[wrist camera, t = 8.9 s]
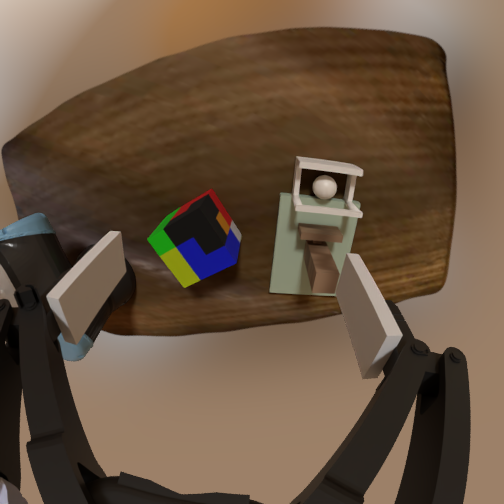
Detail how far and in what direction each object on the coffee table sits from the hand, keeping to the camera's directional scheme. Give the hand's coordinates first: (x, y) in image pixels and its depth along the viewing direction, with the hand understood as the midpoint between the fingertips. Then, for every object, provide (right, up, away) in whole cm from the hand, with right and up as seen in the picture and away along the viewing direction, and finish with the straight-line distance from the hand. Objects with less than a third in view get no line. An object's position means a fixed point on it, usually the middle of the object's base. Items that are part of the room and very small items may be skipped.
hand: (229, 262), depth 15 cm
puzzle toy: (-7, +6, +34) cm, 35 cm away
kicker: (+12, +2, +32) cm, 35 cm away
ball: (+13, +11, +28) cm, 33 cm away
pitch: (+13, +4, +33) cm, 36 cm away
